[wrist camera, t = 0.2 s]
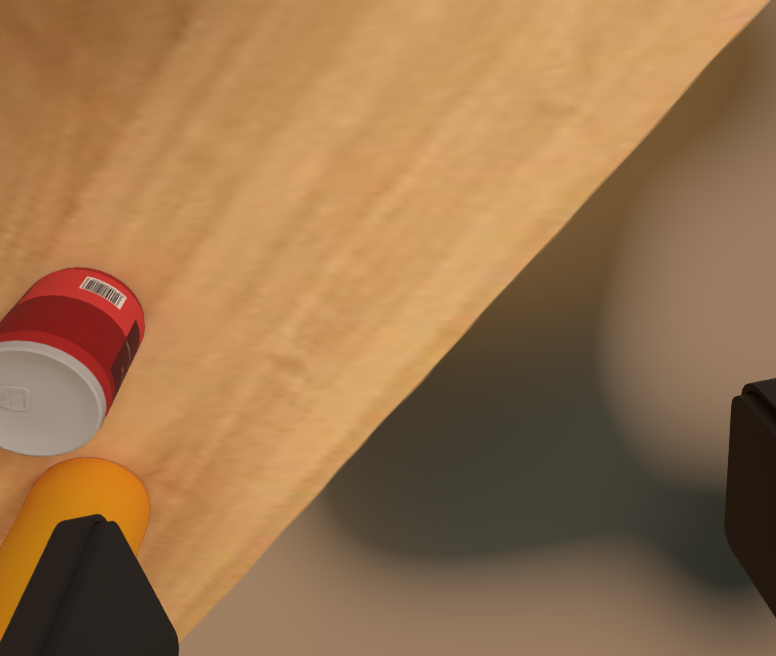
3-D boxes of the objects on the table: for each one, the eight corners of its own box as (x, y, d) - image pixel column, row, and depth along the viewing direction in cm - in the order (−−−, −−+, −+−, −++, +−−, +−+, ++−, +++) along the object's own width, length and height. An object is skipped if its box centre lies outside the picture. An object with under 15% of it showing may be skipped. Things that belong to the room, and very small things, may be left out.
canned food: (13, 269, 47) (-71, 353, 37) (133, 258, 47) (81, 339, 37) (48, 365, 50) (-19, 465, 41) (159, 354, 51) (118, 451, 41)
